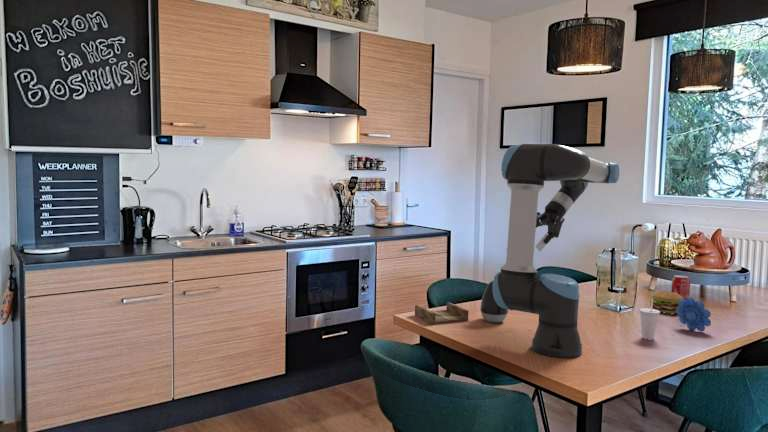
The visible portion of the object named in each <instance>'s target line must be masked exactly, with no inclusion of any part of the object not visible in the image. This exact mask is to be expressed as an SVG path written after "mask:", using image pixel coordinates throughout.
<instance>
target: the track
mask: <svg viewBox="0 0 768 432" xmlns="http://www.w3.org/2000/svg"><path fill="white" fill-rule="evenodd" d="M414 316H415V317H417V318H419V319H421V320H423V321H425V322H426V323H429V324H430V325H432V326H434V325H444V324H446V325H447V324H453V323H462V322H469V309H466V308H463V307H461V306H459V305H457V304H455V303H452V302H449V301H448V302H446V309H442V310H429V309H427V308H425V307H422V306H421V305H418V304H416V305H414Z"/></svg>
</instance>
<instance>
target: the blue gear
mask: <svg viewBox="0 0 768 432" xmlns="http://www.w3.org/2000/svg"><path fill="white" fill-rule="evenodd" d="M679 305H680V307H677V308H676V312H677V314H676V315H679V318H678V321H679V322H680V323H681V324H683V325H686V327H687V329H688V330H689V331H692V330H693V331H695V330H697V331H699V332H704V331H705V329H706V327H710V326H711V325H712V323H711V322H712V321H711V320H710V317H711V316H712V315H711V312H710V310H709V309H707V308H705V303H704V302H703V301H701V300H697V301H696V299H694V298H693V297H691V296H689V297H688V298H687V299H686V301H685V300H683V299H682V300H680V301H679Z"/></svg>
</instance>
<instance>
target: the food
mask: <svg viewBox="0 0 768 432" xmlns="http://www.w3.org/2000/svg"><path fill="white" fill-rule="evenodd" d="M651 298H653V309H655V310H658V311H660V313H661V312H665V313H664V314H666V313H677V312H676V308H677V307H680V305H679V301H680V300H682V297H681V296H680V295H678V294H677V293H673V292H671V291H665V290H664V291H658V292H656V293H654V294H653V295H652V296H651V297H650V300H649V303H650V304H649V305H650V307H651Z"/></svg>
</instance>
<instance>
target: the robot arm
mask: <svg viewBox="0 0 768 432" xmlns="http://www.w3.org/2000/svg"><path fill="white" fill-rule="evenodd" d="M500 170H501V175H502V178H503V179H504V180H506V182H507V184H506V185H507V186H508V187H509V189H510V191H511V193H510V205H509V206H510V208H509V219H508V233H507V244H506V246H507V247H506V259H505V264H503V265H502V266H501V267H500V271H499V272H496V274H495V275H494V277H493V280H492V281H493V296H494V299H495V301H496V303H497V305H498V306H500V307H502V308H506V309H508V311H518V312H522V313H528V314H529V313H530V314H534V315H538V325H537V328H536V330H535V333H534V337H533V338H532V341H531V349H532V351H534V352H536V353H538V354H541V355H544V356H547V357H554V358H564V359H565V358H567V359H570V358H576V357H579V356H581V355H582V353H583V344H582V342H581V338H580V333H579V329H578V319H579V304H580V301H579V300H580V286H579V283H578V282H577V281H576V280H575V279H573V278H571V277H568V276H565V275H560V274H556V273H542V274H541V275H540V276H539V277H538V270H537V269H536V267H535V266H534V257H535V256H534V255H535V254H534V253H535V248H536V249H537V250H538V251H539V252H541V251H542V250H543V249H544V248H545V246H547V244H549V242H551V240H552V239H554V238H556V239H558V238H559V236H560V234H561V233H560V232H561V229H562V226H563V223H564V222H565V220H566V219H565V217H564V216H565V215H566V214H567V212H568V211H569V210H570V208H571V207H572V206H573V205H574V204H575V202H576V201H577V200H578V199H579V197H581V195H583V193H584V192H585V190H587V187H588V185H589V183H590V184H591V183H592V184H594V183H595V184H597V183H598V184H616V183H617V182H618V181H619V178H620V165H619V164H618V163H616V162H609V161H608V162H603V161H601V160H598V159H595V158H592V157H589V155H588V154H587V153H586V152H584V151H582V150H579V149H577V148H573V147H570V146H566V145H563V144H562V145H561V144H557V143H549V144H545V143H542V144H541V143H535V144H534V143H522V144H513V145H511V146H509V147H508V149H507V150H506V151H505V153H504V155H503V158H502V162H501V169H500ZM546 181H547V182H557V181H558V182H560V185H561V187H560V188H559V190H557V192H556V193H555V195H554V196H553V197H552V198H551V200H550V201H549V202H548V203H547V204H546V205H545V206H544V212H543V213H540V212H539V211H538V206H539V205H538V204H539V193H540V191H541V190H542V189H543V188H544V186H545V182H546ZM543 226H547V232H546V233H545V234H544V235H543V236H542V238H540V240H539V241H538V242H537V244H536V245H535V243H536V232H537V231H536V230H537V228H538V227H543Z"/></svg>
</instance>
